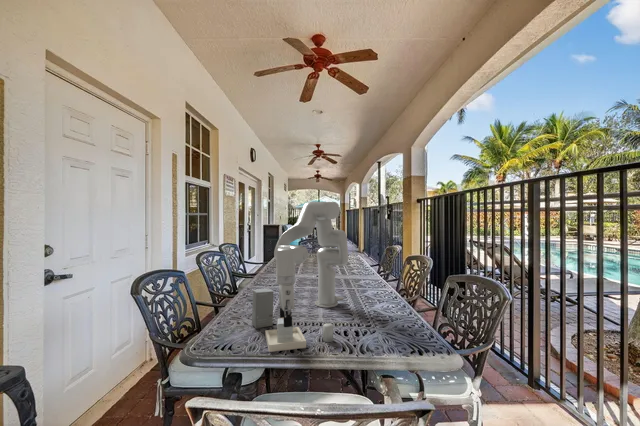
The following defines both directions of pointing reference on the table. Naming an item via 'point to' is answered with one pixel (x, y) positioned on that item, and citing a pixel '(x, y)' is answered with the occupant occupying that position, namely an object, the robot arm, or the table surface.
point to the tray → (275, 346)
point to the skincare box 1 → (262, 308)
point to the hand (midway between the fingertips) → (285, 321)
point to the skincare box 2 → (284, 331)
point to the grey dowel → (328, 332)
